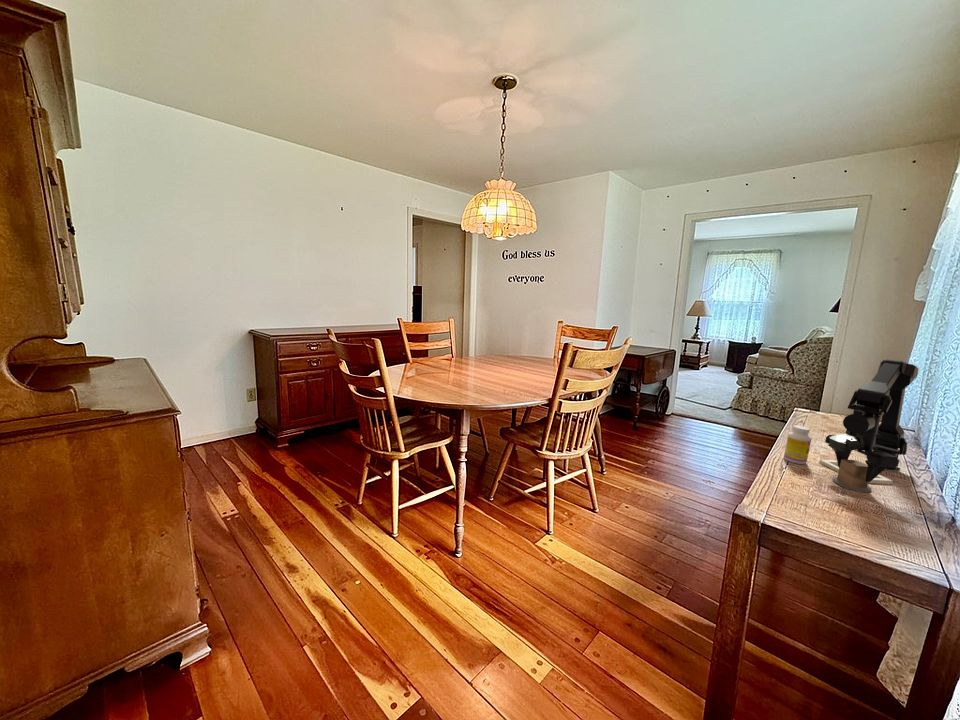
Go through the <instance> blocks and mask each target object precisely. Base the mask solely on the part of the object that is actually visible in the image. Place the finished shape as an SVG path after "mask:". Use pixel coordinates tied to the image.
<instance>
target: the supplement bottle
mask: <svg viewBox="0 0 960 720" xmlns="http://www.w3.org/2000/svg"><path fill="white" fill-rule="evenodd" d="M810 431H811V430H810V428H808V427H807V426H802V425H798V424H797V425H793V426H792V431H790V432H788V434H787V438H786V444H785V448H784V452H783V453H784V454H783V458H784V459H785V460H786V461H788V462H790V463H794V464H797V465H805V464H806V463H808V459H809V458H808V457H809V453H810V447H811V443H812V437H811V436H810V435H809V433H810Z"/></svg>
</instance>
